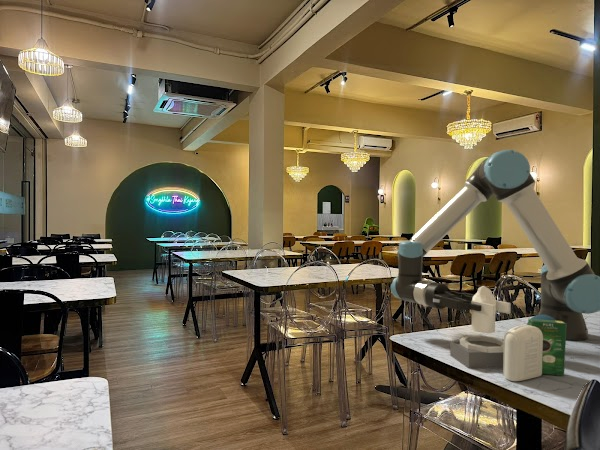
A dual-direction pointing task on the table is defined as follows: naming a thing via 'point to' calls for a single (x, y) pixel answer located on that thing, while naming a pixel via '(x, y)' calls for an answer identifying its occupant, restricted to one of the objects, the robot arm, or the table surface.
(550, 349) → the coffee box
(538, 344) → the photo printer
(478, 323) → the cream tapered cylinder
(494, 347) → the octagonal hole block
